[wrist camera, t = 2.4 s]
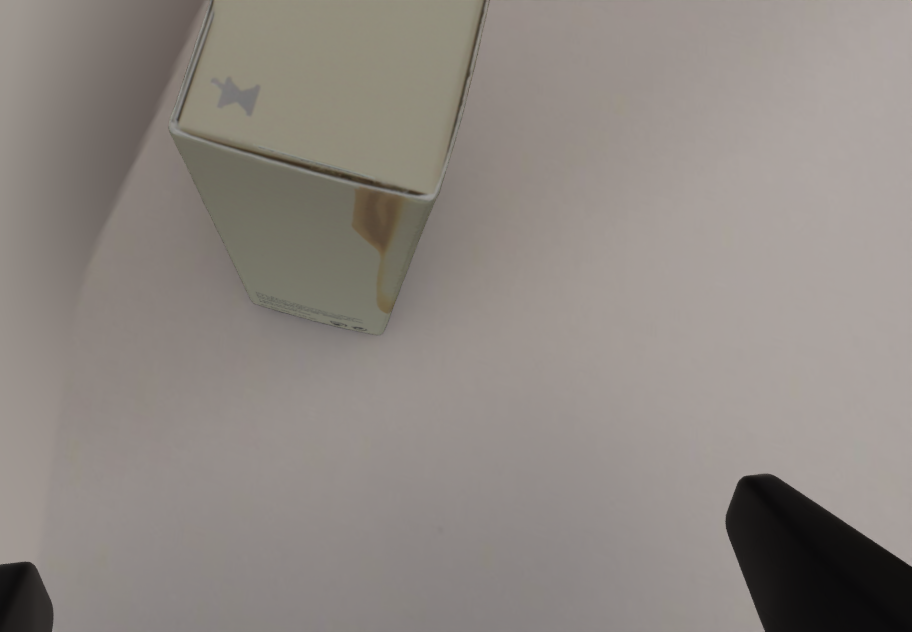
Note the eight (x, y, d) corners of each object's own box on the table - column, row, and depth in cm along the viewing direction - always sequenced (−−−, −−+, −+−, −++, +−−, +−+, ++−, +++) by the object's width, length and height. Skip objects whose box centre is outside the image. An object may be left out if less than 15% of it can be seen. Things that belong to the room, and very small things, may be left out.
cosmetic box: (384, 340, 23) (438, 227, 11) (247, 305, 23) (151, 149, 11) (431, 155, 24) (523, -121, 13) (302, 118, 24) (272, -206, 12)
